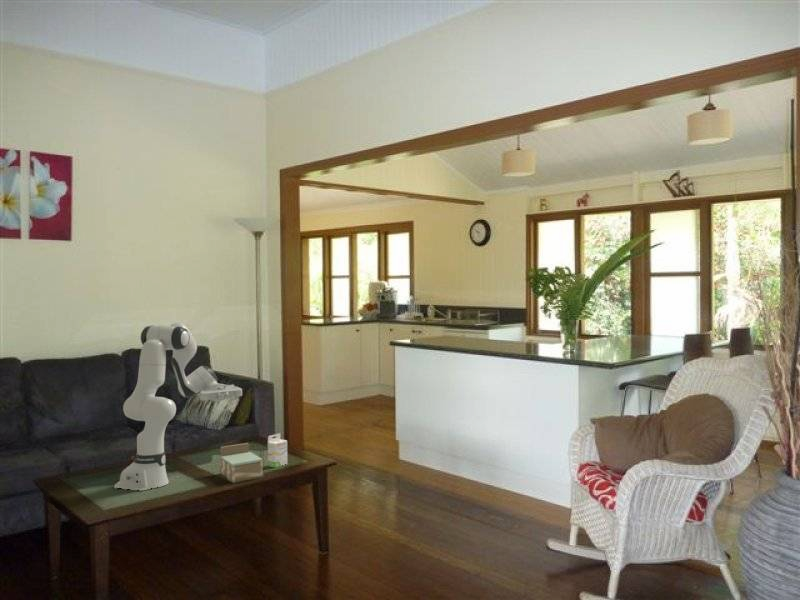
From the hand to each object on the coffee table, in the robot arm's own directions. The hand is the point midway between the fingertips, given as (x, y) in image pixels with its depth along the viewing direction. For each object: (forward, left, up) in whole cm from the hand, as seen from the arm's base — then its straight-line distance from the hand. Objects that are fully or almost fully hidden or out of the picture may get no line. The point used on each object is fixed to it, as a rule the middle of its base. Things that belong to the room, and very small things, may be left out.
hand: (225, 396), depth 315 cm
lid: (+12, -14, -27) cm, 33 cm away
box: (+12, -14, -34) cm, 39 cm away
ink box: (+24, +3, -34) cm, 42 cm away
